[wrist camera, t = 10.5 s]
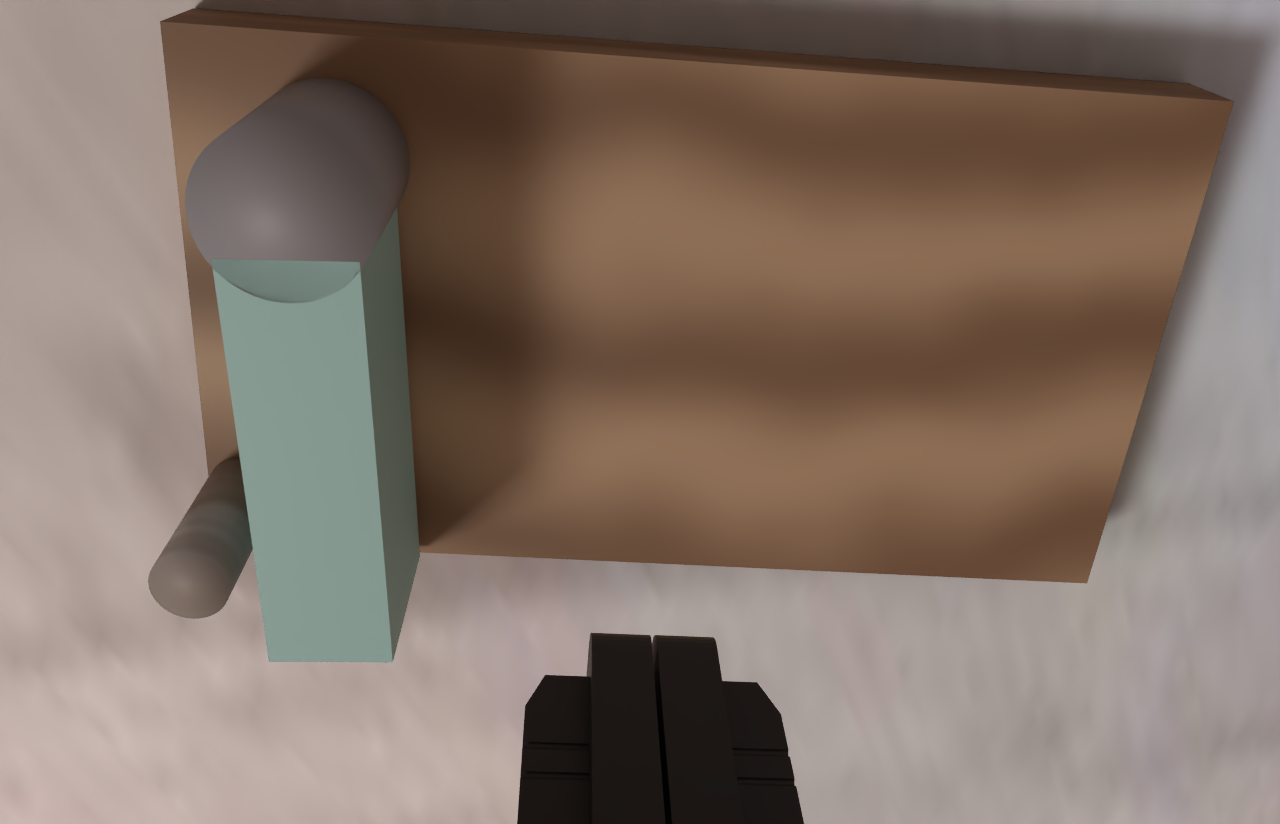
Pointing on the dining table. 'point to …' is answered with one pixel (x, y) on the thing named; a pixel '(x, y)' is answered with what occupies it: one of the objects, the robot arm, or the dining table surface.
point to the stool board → (733, 296)
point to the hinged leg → (316, 361)
